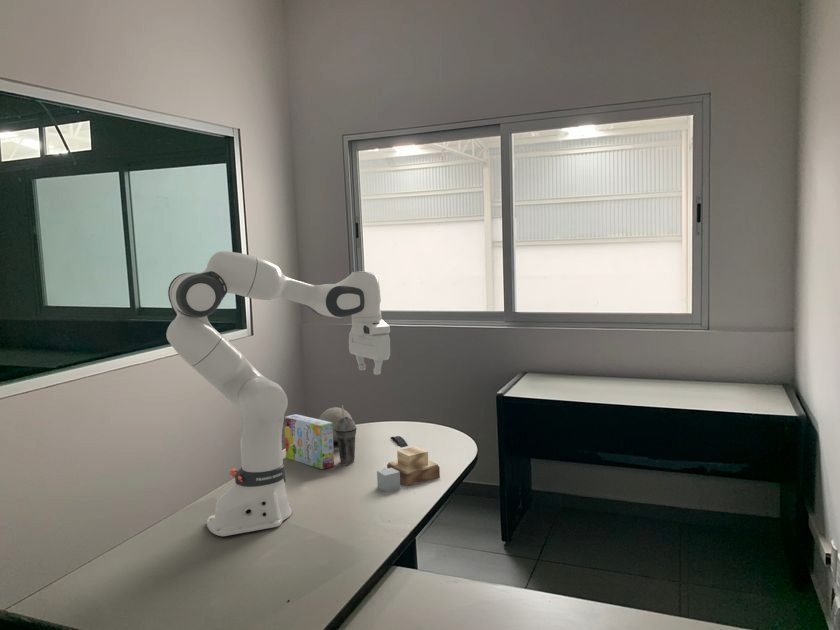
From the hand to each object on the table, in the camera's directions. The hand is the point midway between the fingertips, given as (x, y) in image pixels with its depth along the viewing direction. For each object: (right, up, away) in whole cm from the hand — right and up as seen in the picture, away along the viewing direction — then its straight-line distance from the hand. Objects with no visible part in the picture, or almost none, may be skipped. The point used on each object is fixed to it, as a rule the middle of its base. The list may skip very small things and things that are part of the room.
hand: (369, 372), depth 186 cm
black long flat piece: (+7, -32, +45) cm, 55 cm away
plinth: (+13, -34, +11) cm, 38 cm away
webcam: (-16, -32, +44) cm, 56 cm away
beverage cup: (-10, -33, +26) cm, 43 cm away
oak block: (+13, -30, +10) cm, 34 cm away
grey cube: (+6, -35, +2) cm, 35 cm away
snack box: (-23, -34, +29) cm, 50 cm away
